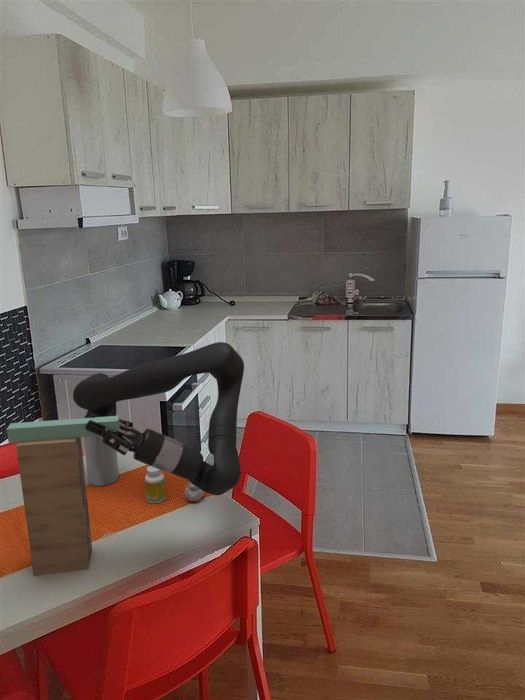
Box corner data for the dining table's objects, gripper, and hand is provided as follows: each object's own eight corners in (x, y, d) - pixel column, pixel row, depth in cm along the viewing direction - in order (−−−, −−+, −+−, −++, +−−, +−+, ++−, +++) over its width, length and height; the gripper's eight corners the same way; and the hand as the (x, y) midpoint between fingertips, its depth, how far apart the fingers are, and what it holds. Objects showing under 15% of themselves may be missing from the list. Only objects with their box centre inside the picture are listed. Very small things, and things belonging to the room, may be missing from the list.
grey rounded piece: (183, 504, 149) (182, 479, 147) (187, 492, 155) (185, 467, 153) (202, 504, 149) (201, 479, 147) (205, 492, 155) (204, 468, 153)
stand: (40, 556, 127) (24, 432, 119) (92, 550, 129) (80, 428, 121) (33, 575, 120) (16, 445, 112) (88, 568, 122) (75, 441, 114)
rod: (12, 436, 117) (10, 423, 116) (119, 428, 121) (118, 415, 120) (8, 442, 114) (6, 429, 113) (118, 434, 118) (117, 420, 117)
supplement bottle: (161, 504, 149) (159, 473, 146) (143, 502, 150) (140, 471, 148) (168, 495, 154) (166, 464, 152) (150, 493, 155) (148, 462, 153)
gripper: (166, 425, 128) (99, 396, 123) (166, 450, 115) (91, 418, 110) (151, 451, 129) (84, 423, 124) (150, 479, 116) (75, 448, 111)
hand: (88, 421), depth 117 cm, fingers closed on rod, 3 cm apart
